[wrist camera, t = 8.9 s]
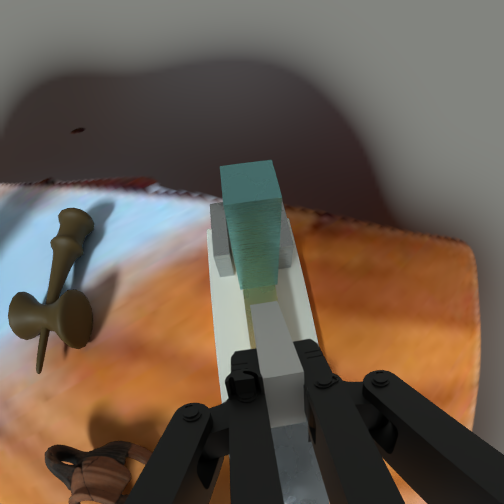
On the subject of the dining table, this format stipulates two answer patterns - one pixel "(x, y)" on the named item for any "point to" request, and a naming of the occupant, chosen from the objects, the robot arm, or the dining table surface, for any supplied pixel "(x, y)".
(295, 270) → the base board
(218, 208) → the socket
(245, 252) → the two-tone teal block
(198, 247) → the dining table surface
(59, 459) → the brown grey jagged ring
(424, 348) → the dining table surface
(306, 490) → the sleeve
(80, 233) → the kendama
